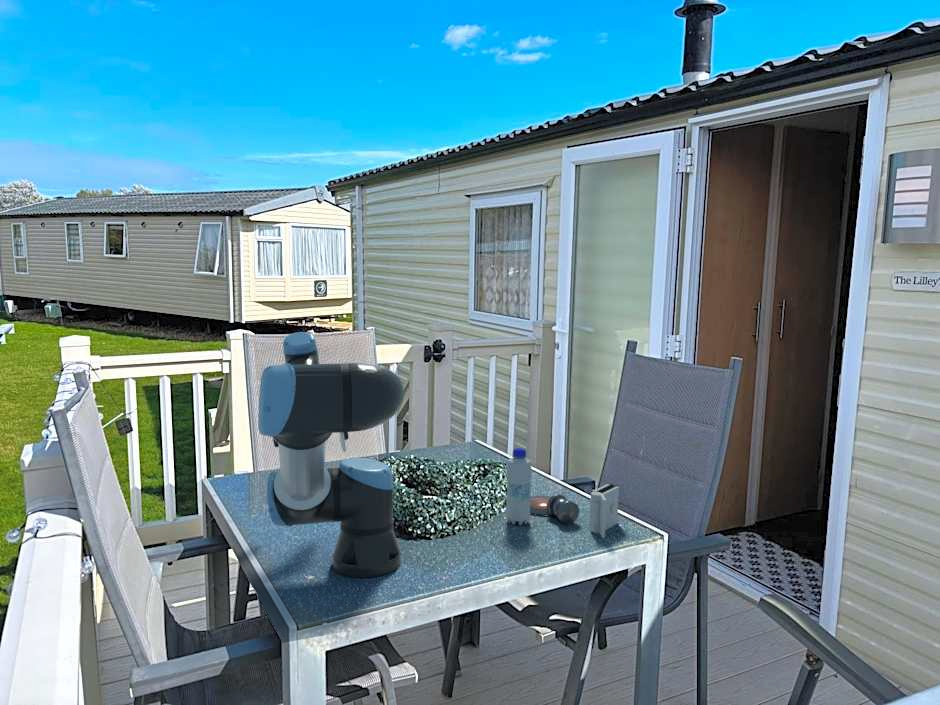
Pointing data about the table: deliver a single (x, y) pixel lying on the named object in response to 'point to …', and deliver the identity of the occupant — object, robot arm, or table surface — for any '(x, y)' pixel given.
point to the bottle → (518, 487)
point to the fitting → (554, 507)
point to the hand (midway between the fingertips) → (317, 455)
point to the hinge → (604, 508)
